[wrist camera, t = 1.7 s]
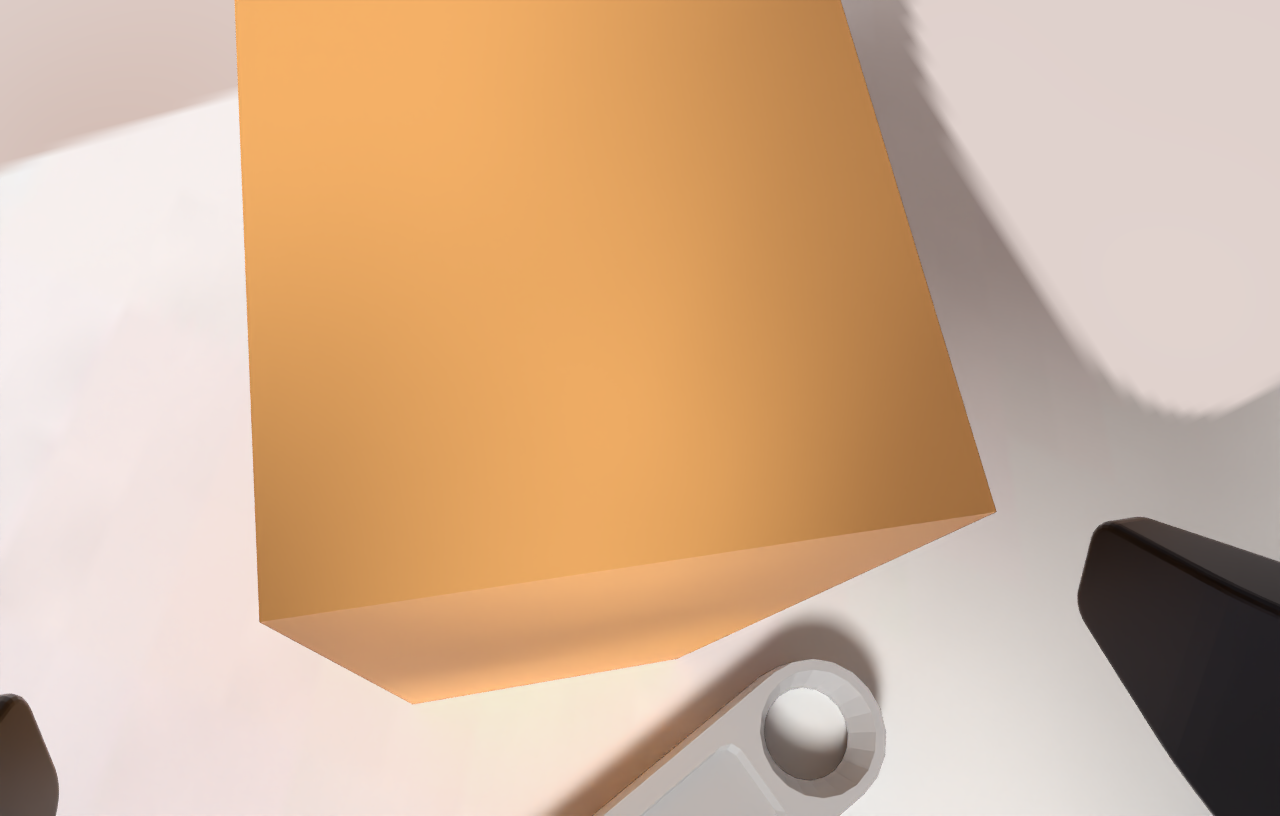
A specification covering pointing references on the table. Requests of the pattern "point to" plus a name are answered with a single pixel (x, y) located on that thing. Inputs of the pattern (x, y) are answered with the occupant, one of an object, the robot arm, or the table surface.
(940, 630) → the table surface
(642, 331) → the tall tan rectangular block
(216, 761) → the table surface
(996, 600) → the table surface
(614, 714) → the table surface
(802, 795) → the adjustable wrench
